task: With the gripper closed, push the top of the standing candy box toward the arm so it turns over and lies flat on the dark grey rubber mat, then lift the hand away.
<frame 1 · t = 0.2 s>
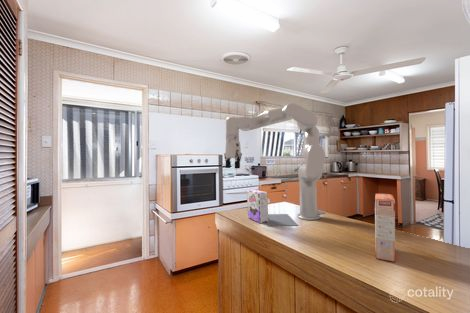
hand: (232, 168, 134), 30 cm above the counter, tool pointing down, fingers open, 9 cm apart
candy box: (258, 220, 131), on the counter, touching mat
mat: (278, 219, 131), on the counter
cracker box: (385, 254, 84), on the counter
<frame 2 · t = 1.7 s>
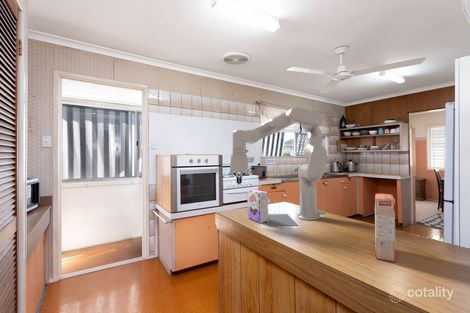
hand: (239, 184, 131), 21 cm above the counter, tool pointing down, fingers closed
nothing on the counter moved.
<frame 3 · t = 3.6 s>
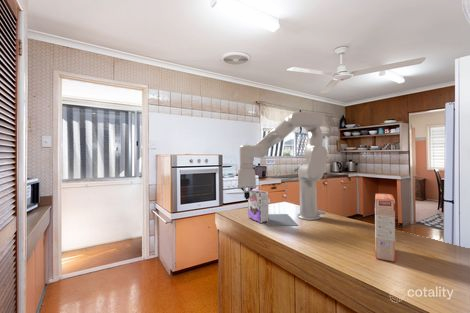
hand: (247, 199, 131), 12 cm above the counter, tool pointing down, fingers closed
candy box: (258, 220, 131), on the counter, touching mat
everything else where it was.
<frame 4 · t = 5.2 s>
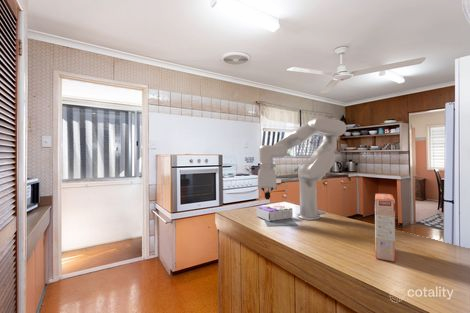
hand: (267, 199, 132), 12 cm above the counter, tool pointing down, fingers closed
candy box: (262, 213, 132), point 3 cm above the counter, touching mat
everything else where it was.
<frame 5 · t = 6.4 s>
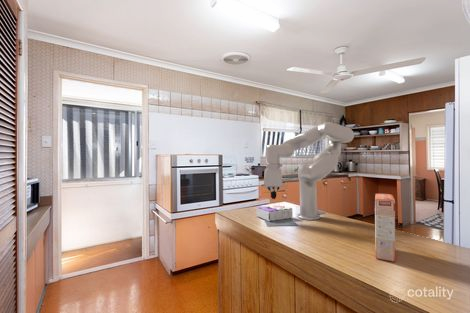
hand: (273, 198, 132), 12 cm above the counter, tool pointing down, fingers closed
nothing on the counter moved.
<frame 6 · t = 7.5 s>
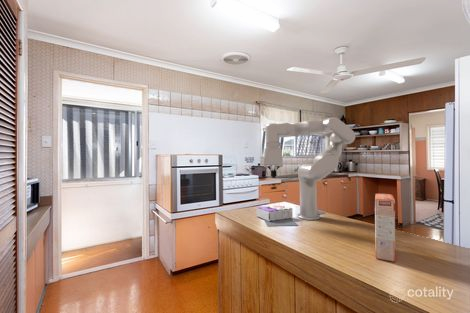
hand: (273, 177, 132), 24 cm above the counter, tool pointing down, fingers closed
nothing on the counter moved.
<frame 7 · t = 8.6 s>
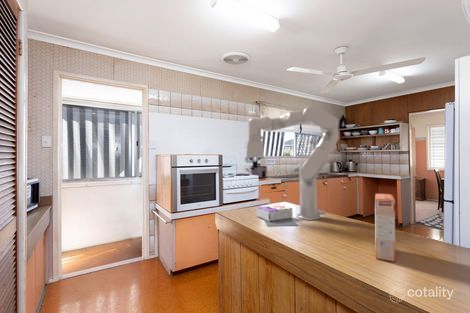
hand: (255, 168, 144), 29 cm above the counter, tool pointing down, fingers closed
nothing on the counter moved.
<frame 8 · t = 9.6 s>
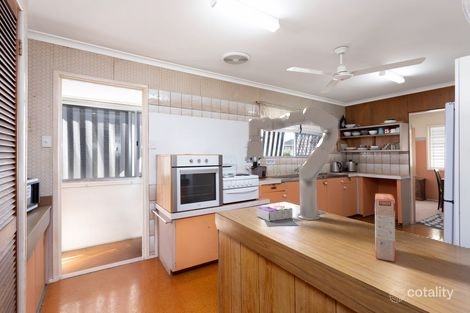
hand: (255, 168, 144), 29 cm above the counter, tool pointing down, fingers closed
nothing on the counter moved.
at the end: candy box tilted 90°; candy box touching mat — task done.
